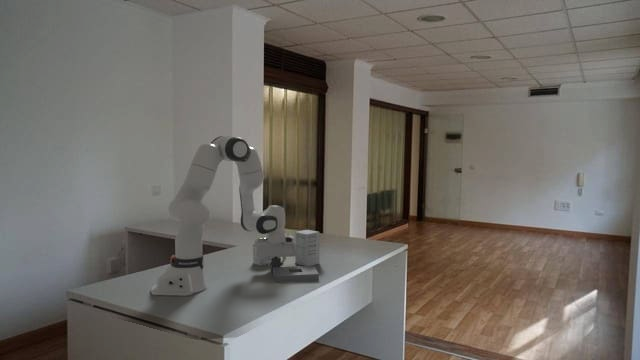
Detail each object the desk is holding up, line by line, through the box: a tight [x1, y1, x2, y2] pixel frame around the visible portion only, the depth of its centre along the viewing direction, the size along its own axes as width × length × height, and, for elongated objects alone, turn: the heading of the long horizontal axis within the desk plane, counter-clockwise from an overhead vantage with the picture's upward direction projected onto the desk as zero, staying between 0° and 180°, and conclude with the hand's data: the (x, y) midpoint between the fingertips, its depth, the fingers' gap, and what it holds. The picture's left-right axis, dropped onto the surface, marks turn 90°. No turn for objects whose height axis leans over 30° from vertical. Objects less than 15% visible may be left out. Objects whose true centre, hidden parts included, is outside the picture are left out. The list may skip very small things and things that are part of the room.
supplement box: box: [294, 229, 321, 266], centre depth 231 cm, size 10×9×17 cm
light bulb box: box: [252, 242, 271, 267], centre depth 232 cm, size 11×7×11 cm, turn 134°
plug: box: [270, 257, 282, 272], centre depth 219 cm, size 4×4×8 cm
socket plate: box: [272, 265, 320, 283], centre depth 209 cm, size 20×14×3 cm
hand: (275, 265), depth 219 cm, fingers closed on plug, 4 cm apart
